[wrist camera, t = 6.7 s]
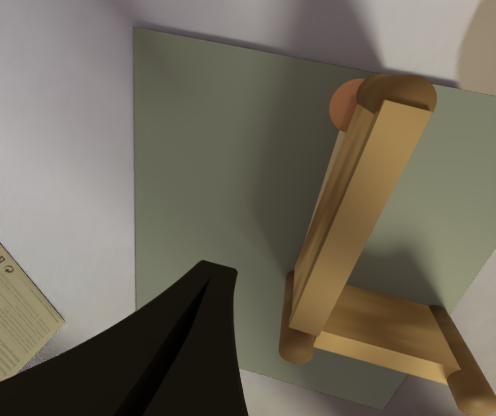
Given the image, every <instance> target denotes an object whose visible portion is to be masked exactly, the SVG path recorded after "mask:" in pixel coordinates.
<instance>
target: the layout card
mask: <svg viewBox="0 0 496 416" xmlns="http://www.w3.org/2000/svg"><path fill="white" fill-rule="evenodd" d="M133 39H134V133H135V226H136V311H137V310H138V309H140V308H141V307H143V306H144V305H145V304H147V303H148V302H150V301H151V300H153V299H154V298H155V297H157V296H158V295H159V294H161V293H162V292H163V291H165V290H166V289H167V288H168V287H170V286H171V285H172V284H174V283H175V282H176V281H177V280H178V279H180V278H181V277H182V276H183V275H184V274H186V273H187V272H188V271H189V270H190V269H191V268H192V267H194V266H195V265H196V264H197V263H198V262H199V261H201V260H205V261H209V262H213V263H217V264H220V265H224V266H228V267H231V268H235V269H236V270H237V271H238V275H237V280H236V285H235V290H234V331H235V342H236V351H237V359H238V366H239V368H241V369H244V370H247V371H251V372H254V373H257V374H261V375H264V376H267V377H271V378H274V379H278V380H281V381H284V382H288V383H291V384H294V385H298V386H301V387H304V388H308V389H311V390H315V391H318V392H321V393H325V394H328V395H331V396H335V397H338V398H341V399H345V400H348V401H351V402H355V403H358V404H362V405H365V406H368V407H372V408H375V409H378V410H383V409H384V407H385V406H386V405H387V403H388V402H389V400H390V399H391V397H392V396H393V395H394V393H395V392H396V390H397V389H398V387H399V386H400V385H401V383H402V382H403V380H404V379H405V377H406V376H407V375H408V373H404V372H401V371H397V370H394V369H390V368H387V367H383V366H380V365H376V364H373V363H369V362H365V361H362V360H358V359H355V358H351V357H348V356H344V355H341V354H337V353H334V352H330V351H327V350H323V349H320V348H316V347H313V357H312V359H311V360H310V361H309V362H307V363H304V364H293V363H290V362H287V361H286V360H284V359H283V358H282V357H281V356H280V354H279V351H278V349H279V339H280V330H281V320H282V311H283V302H284V292H285V283H286V276H287V274H288V273H289V272H291V271H293V270H295V265H296V262H297V260H298V257H299V254H300V252H301V249H302V247H303V244H304V241H305V239H306V236H307V234H308V231H309V228H310V226H311V223H312V221H313V218H314V215H315V213H316V210H317V208H318V205H319V202H320V200H321V197H322V195H323V192H324V189H325V187H326V184H327V182H328V179H329V176H330V174H331V171H332V168H333V166H334V163H335V161H336V158H337V155H338V153H339V150H340V148H341V145H342V142H343V140H344V137H345V135H346V132H347V129H348V127H349V124H350V122H351V119H352V116H353V114H354V111H355V109H356V106H357V99H356V95H357V91H358V88H359V86H360V85H361V83H362V82H363V81H364V80H365V79H367V78H368V77H370V76H372V75H376V74H378V73H373V72H368V71H362V70H357V69H352V68H347V67H342V66H336V65H331V64H326V63H321V62H316V61H310V60H305V59H300V58H295V57H289V56H284V55H279V54H274V53H269V52H263V51H258V50H253V49H248V48H243V47H237V46H232V45H227V44H222V43H217V42H211V41H206V40H201V39H196V38H190V37H185V36H180V35H175V34H170V33H164V32H159V31H154V30H149V29H144V28H138V27H133ZM432 85H433V86H434V88H435V90H436V94H437V103H436V107H435V110H434V112H433V114H432V116H431V117H430V119H429V120H428V122H427V124H426V126H425V128H424V130H423V132H422V134H421V136H420V138H419V140H418V142H417V144H416V146H415V148H414V150H413V152H412V154H411V156H410V158H409V160H408V162H407V164H406V166H405V168H404V170H403V172H402V174H401V176H400V177H399V179H398V181H397V183H396V185H395V187H394V189H393V191H392V193H391V195H390V197H389V199H388V201H387V203H386V205H385V207H384V209H383V211H382V213H381V215H380V217H379V219H378V221H377V223H376V225H375V227H374V229H373V231H372V233H371V235H370V236H369V238H368V240H367V242H366V244H365V246H364V248H363V250H362V252H361V254H360V256H359V258H358V260H357V262H356V264H355V266H354V268H353V270H352V272H351V274H350V276H349V278H348V280H347V282H346V285H350V286H354V287H358V288H362V289H366V290H369V291H373V292H377V293H381V294H385V295H389V296H392V297H396V298H400V299H404V300H408V301H412V302H415V303H419V304H423V305H427V306H430V305H438V306H441V307H443V308H445V309H446V310H447V312H448V314H449V315H450V313H451V312H452V310H453V309H454V307H455V306H456V305H457V303H458V302H459V300H460V299H461V297H462V296H463V295H464V293H465V292H466V290H467V289H468V287H469V286H470V285H471V283H472V282H473V280H474V279H475V277H476V276H477V275H478V273H479V272H480V270H481V269H482V267H483V266H484V265H485V263H486V262H487V260H488V259H489V257H490V256H491V255H492V253H493V252H494V250H495V249H496V96H493V95H487V94H482V93H477V92H472V91H467V90H461V89H456V88H451V87H446V86H441V85H435V84H432Z"/></svg>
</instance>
